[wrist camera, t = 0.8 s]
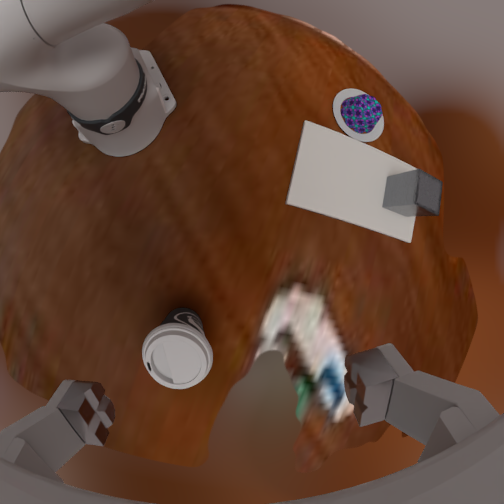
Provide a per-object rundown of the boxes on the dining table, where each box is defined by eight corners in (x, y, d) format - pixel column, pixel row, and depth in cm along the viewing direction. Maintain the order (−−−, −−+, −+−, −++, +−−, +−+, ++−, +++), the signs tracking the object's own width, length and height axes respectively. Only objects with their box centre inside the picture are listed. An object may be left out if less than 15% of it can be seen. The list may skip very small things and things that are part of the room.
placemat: (285, 203, 49) (286, 203, 48) (303, 122, 48) (305, 120, 47) (407, 242, 54) (410, 242, 53) (418, 171, 53) (421, 171, 52)
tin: (405, 216, 52) (438, 215, 42) (382, 207, 51) (414, 204, 41) (410, 187, 52) (442, 182, 42) (387, 176, 51) (418, 168, 41)
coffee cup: (161, 293, 47) (143, 320, 32) (215, 305, 48) (219, 337, 34) (153, 343, 47) (136, 385, 33) (205, 354, 49) (206, 399, 34)
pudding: (354, 152, 51) (367, 146, 45) (320, 101, 49) (330, 90, 44) (391, 129, 52) (405, 122, 46) (360, 83, 50) (372, 73, 45)
